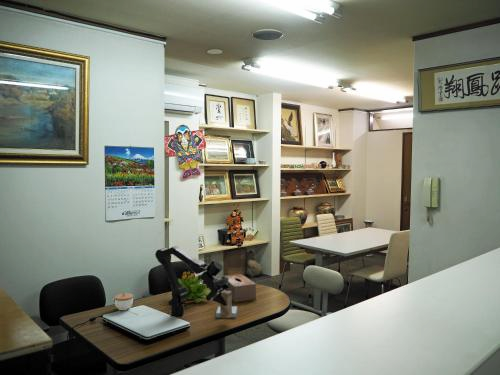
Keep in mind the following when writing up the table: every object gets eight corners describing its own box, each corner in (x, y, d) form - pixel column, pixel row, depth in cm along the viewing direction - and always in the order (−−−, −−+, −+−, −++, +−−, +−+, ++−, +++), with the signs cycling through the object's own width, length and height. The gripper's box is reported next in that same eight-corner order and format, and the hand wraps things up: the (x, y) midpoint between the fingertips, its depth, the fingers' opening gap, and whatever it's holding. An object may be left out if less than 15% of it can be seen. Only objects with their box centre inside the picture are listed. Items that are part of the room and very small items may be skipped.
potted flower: (179, 310, 238) (179, 280, 237) (160, 300, 256) (160, 272, 256) (214, 301, 254) (214, 273, 253) (194, 292, 272) (194, 266, 271)
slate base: (216, 317, 226) (216, 313, 226) (218, 310, 237) (218, 306, 237) (235, 317, 225) (235, 313, 225) (237, 310, 236) (237, 306, 236)
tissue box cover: (221, 290, 276) (221, 276, 276) (241, 288, 281) (241, 274, 281) (234, 302, 252) (234, 286, 252) (256, 299, 258) (255, 283, 257)
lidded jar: (127, 312, 234) (127, 296, 234) (111, 311, 236) (110, 295, 236) (136, 306, 245) (136, 291, 244) (120, 305, 247) (120, 290, 247)
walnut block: (220, 316, 216) (220, 292, 215) (224, 313, 220) (224, 290, 219) (227, 318, 214) (227, 293, 213) (231, 315, 218) (231, 291, 217)
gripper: (210, 276, 209) (229, 300, 205) (227, 268, 226) (245, 290, 222) (197, 289, 213) (216, 313, 209) (215, 280, 230) (232, 302, 225)
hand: (228, 304), depth 216 cm, fingers closed on walnut block, 4 cm apart
